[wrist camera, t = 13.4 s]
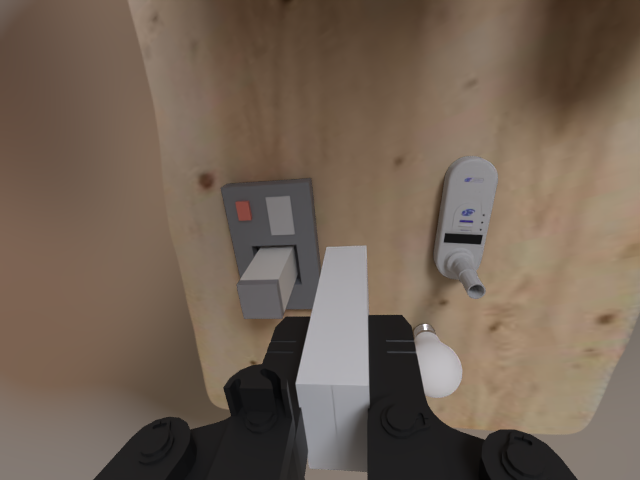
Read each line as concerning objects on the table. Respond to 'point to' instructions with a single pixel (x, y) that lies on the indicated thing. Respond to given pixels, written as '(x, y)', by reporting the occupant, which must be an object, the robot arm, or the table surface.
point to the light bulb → (436, 363)
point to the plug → (268, 282)
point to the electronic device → (465, 221)
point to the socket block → (276, 228)
